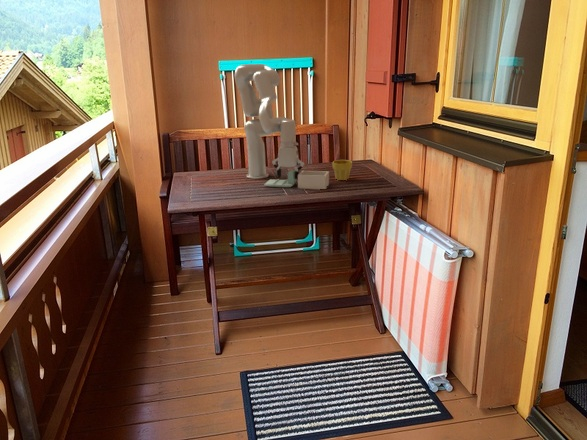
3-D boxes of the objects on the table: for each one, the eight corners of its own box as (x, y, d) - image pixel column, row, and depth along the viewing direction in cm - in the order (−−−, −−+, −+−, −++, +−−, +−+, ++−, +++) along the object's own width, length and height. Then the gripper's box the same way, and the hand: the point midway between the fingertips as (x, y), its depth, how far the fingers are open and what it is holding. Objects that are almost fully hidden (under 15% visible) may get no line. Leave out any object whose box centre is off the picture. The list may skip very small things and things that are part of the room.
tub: (302, 183, 240) (302, 170, 238) (328, 184, 237) (328, 171, 235) (298, 188, 231) (297, 175, 229) (325, 189, 228) (325, 175, 226)
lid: (270, 182, 245) (269, 168, 243) (297, 183, 242) (296, 169, 239) (264, 187, 236) (263, 172, 233) (292, 188, 232) (292, 173, 230)
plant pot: (349, 182, 241) (349, 164, 237) (330, 181, 244) (330, 163, 241) (353, 177, 250) (353, 160, 247) (335, 176, 253) (335, 159, 250)
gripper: (306, 144, 232) (306, 177, 238) (273, 142, 236) (274, 174, 242) (302, 147, 225) (302, 181, 231) (269, 144, 229) (269, 178, 235)
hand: (288, 177), depth 237 cm, fingers open, 8 cm apart
